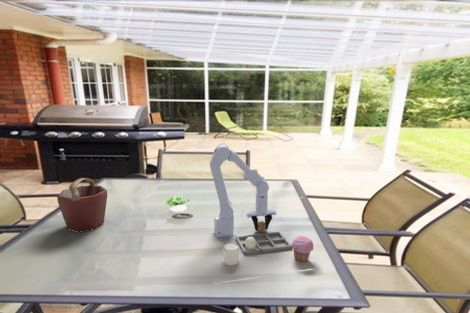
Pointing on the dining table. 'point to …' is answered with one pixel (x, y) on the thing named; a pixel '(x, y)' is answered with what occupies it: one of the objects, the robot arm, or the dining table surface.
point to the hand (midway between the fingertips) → (261, 229)
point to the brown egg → (261, 227)
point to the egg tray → (264, 243)
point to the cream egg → (250, 243)
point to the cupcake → (302, 248)
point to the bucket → (83, 205)
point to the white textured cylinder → (231, 253)
